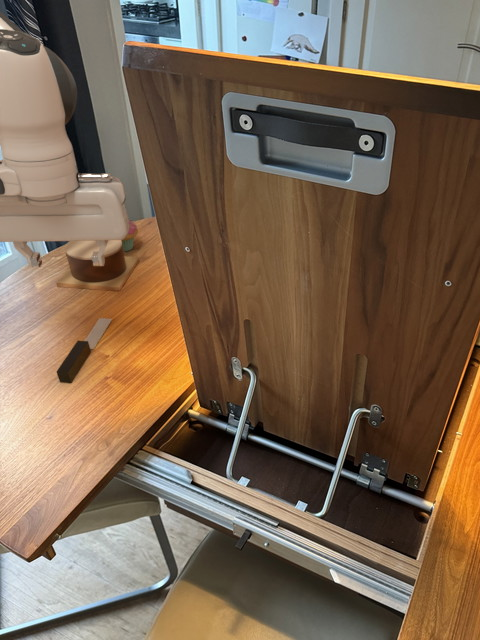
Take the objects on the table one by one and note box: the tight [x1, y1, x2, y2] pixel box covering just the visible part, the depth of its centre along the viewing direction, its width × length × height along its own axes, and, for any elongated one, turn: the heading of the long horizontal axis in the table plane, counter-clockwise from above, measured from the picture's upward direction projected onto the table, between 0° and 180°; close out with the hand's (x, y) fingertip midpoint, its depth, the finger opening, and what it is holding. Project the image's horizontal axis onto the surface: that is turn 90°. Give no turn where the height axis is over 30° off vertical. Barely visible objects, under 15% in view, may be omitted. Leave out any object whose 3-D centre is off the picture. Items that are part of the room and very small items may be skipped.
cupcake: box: [121, 219, 139, 253], centre depth 124 cm, size 9×8×12 cm
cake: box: [55, 240, 140, 292], centre depth 115 cm, size 14×14×7 cm
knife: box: [56, 317, 113, 384], centre depth 95 cm, size 20×3×2 cm, turn 174°
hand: (67, 265), depth 79 cm, fingers open, 8 cm apart
